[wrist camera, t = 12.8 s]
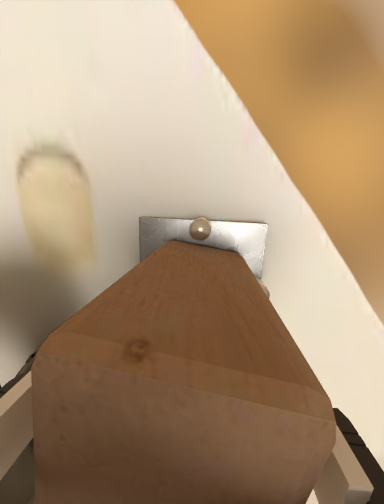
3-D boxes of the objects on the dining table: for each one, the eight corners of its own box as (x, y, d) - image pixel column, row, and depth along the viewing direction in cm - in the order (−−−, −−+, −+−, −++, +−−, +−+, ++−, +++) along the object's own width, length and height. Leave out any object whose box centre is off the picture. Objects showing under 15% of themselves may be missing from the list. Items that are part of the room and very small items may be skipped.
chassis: (142, 323, 30) (130, 343, 26) (140, 213, 26) (125, 215, 22) (252, 334, 29) (260, 358, 24) (268, 220, 25) (280, 223, 20)
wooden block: (166, 237, 25) (11, 346, 6) (244, 252, 24) (368, 431, 5) (156, 306, 27) (24, 547, 8) (226, 321, 27) (265, 619, 7)
